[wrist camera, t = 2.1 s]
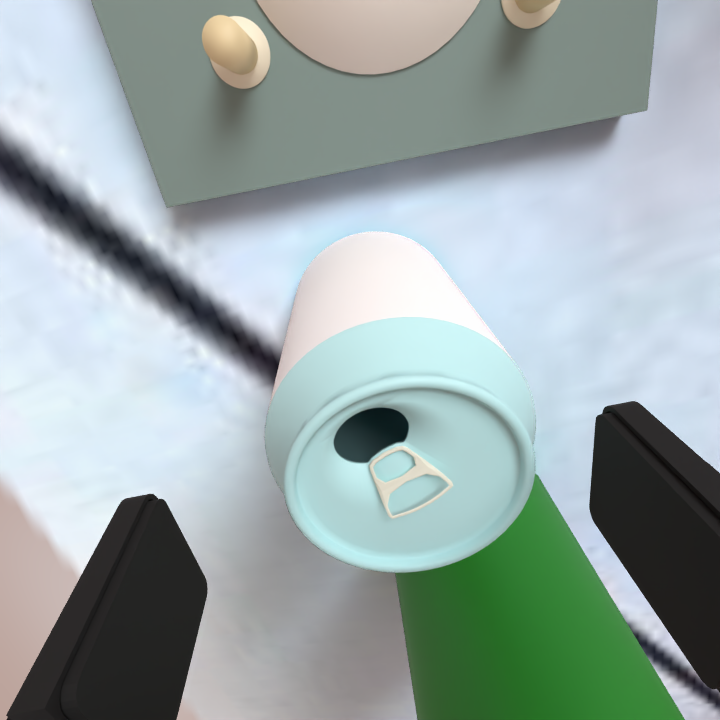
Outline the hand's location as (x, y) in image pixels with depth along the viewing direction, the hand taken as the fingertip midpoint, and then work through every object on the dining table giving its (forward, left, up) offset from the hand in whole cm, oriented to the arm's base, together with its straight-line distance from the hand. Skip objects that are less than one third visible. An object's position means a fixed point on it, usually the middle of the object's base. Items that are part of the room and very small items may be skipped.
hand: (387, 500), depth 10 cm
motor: (-15, -4, -13) cm, 20 cm away
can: (0, -1, -13) cm, 13 cm away
